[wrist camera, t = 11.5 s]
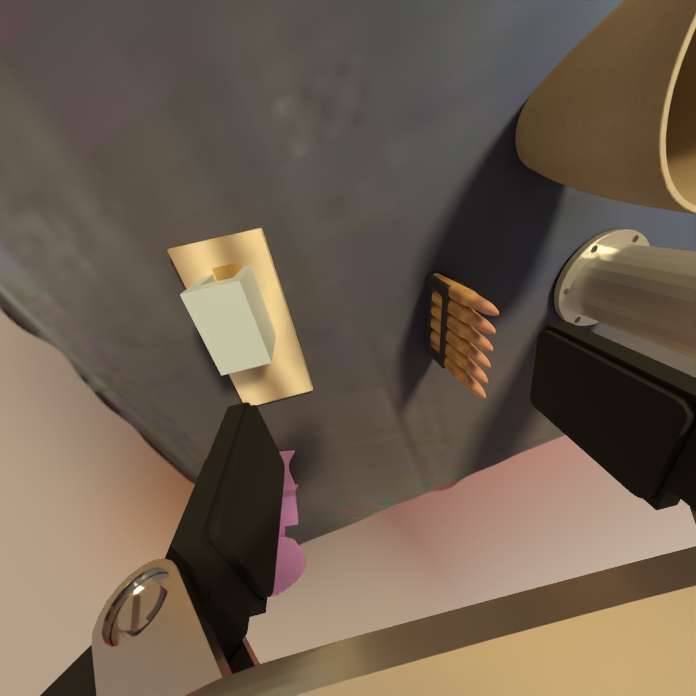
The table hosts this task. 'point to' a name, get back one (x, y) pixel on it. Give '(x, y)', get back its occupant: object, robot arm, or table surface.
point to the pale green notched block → (232, 320)
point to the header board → (288, 360)
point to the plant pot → (621, 109)
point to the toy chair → (288, 550)
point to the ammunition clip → (458, 329)
